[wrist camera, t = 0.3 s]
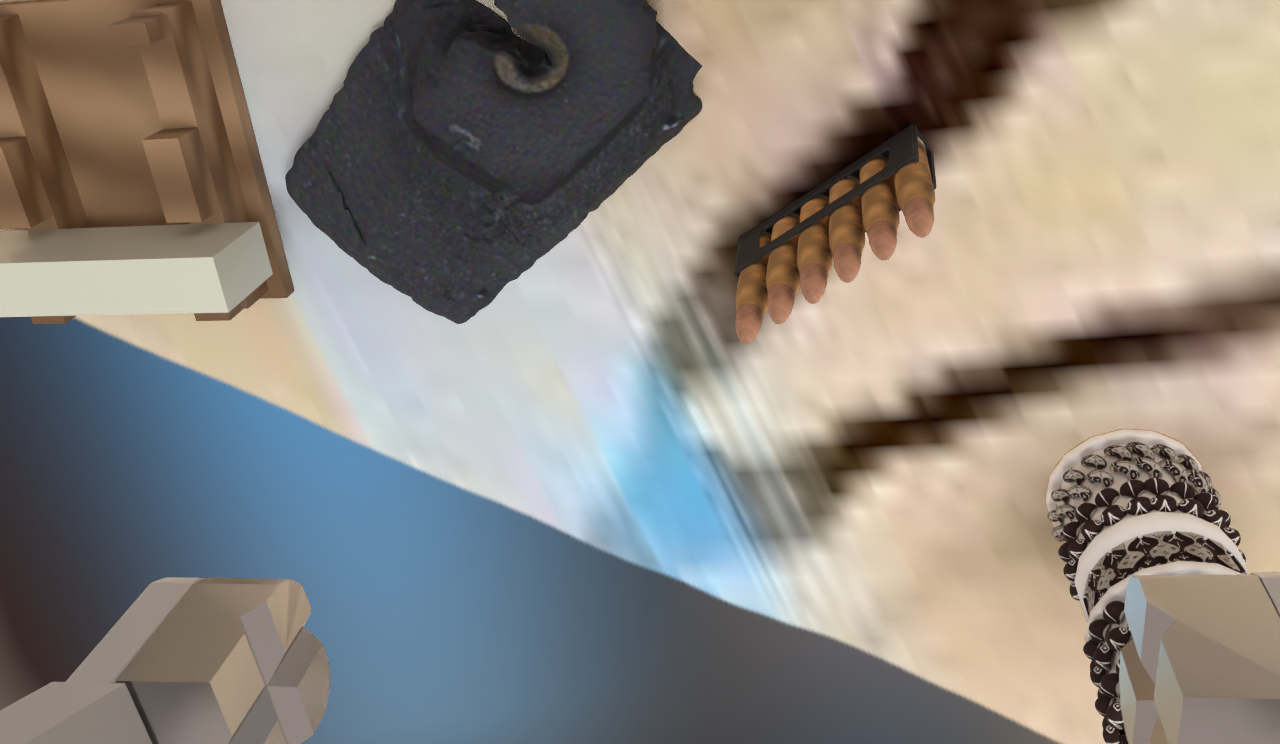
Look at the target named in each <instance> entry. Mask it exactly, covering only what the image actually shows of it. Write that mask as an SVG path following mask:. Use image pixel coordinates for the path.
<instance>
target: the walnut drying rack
mask: <svg viewBox="0 0 1280 744" xmlns="http://www.w3.org/2000/svg"><path fill="white" fill-rule="evenodd" d="M241 222H259V223H260V227H261V231H262V235H263V238H264V242H265V246H266V250H267V254H268V257H269V261H270V265H271V269H272V273H273V274H272V275H271V276H270V277H269V278H268V279H267V280H265V281H264V282H263V283H262V284H261V285H260V286H259V287H257V288H256V289H255V290H254V291H253V292H252V293H251V294H249V295H248V296H247V297H246V298H245V299H244V300H243V301H241V302H240V303H239V304H238V305H237V306H236V307H234V308H233V309H232V310H231V311H230V312H229V313H194V315H195V318H196V321H218V320H231V319H232V318H233V317H234V316H236V315H237V314H238V313H239V312H240V311H241V310H242V309H244V308H249V307H250V306H251V305H253V304H254V303H255V302H256V301H257V300H258V299H259V298H287V297H288V296H289V295H290V294H291V293H292V292H294V288H293V284H292V280H291V276H290V272H289V268H288V264H287V261H286V257H285V253H284V249H283V245H282V241H281V237H280V233H279V229H278V225H277V221H276V217H275V214H274V210H273V206H272V202H271V198H270V194H269V190H268V186H267V182H266V178H265V174H264V170H263V166H262V163H261V159H260V155H259V151H258V147H257V143H256V139H255V135H254V131H253V127H252V123H251V119H250V116H249V112H248V108H247V104H246V100H245V96H244V92H243V88H242V84H241V80H240V76H239V72H238V69H237V65H236V61H235V57H234V53H233V49H232V45H231V41H230V37H229V33H228V29H227V25H226V21H225V18H224V14H223V10H222V6H221V2H220V0H40V1H27V2H15V3H2V4H0V229H19V228H26V230H45V229H73V228H101V227H129V226H157V225H185V224H213V223H241ZM74 317H75V316H31V319H32V321H33V324H54V323H66V322H68V321H69V320H71V319H72V318H74Z"/></svg>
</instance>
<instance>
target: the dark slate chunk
mask: <svg viewBox="0 0 1280 744" xmlns="http://www.w3.org/2000/svg"><path fill="white" fill-rule="evenodd" d="M494 5H495V6H496V7H497V8H499V9H500V10H501V11H503V12H504V13H505V14H506V15H507V19H508V21H509V23H510V24H511V26H512V27H513V28H514V29H515V30H516V31H517V32H518V33H519V34H520V35H521V36H522V37H523V38H524V39H525V40H526V41H525V40H523V39H521V38H519V37H517V36H516V35H515V34H514V33H513V32H512V29H511V26H510V24H509V23H508V22H507V21H506V20H505V19H504V18H502V17H501V16H499V15H498V14H497V13H495V12H494V11H493V10H491V9H490V8H488V7H486V6H484V5H483V4H481V3H480V2H478V1H476V0H396V2H395V5H394V9H393V12H392V13H391V14H390V15H389V16H388V17H387V18H386V19H385V22H384V26H383V27H381V28H379V29H377V30H375V31H374V32H372V34H371V36H370V40H369V42H368V44H367V45H366V46H365V47H364V48H363V49H362V51H361V52H360V53H359V54H358V56H357V57H356V59H355V60H354V62H353V63H352V65H351V66H350V68H349V70H348V73H347V77H346V79H345V81H344V87H343V88H342V89H341V90H340V91H339V92H338V93H337V94H336V95H335V96H334V99H333V102H332V103H331V105H330V108H329V110H327V111H326V112H325V113H324V115H323V117H322V118H321V120H320V122H319V124H318V126H317V129H316V131H315V132H314V134H313V135H312V136H311V137H310V138H309V139H308V140H307V141H306V142H305V143H304V144H303V145H302V147H301V148H300V149H299V150H298V152H297V153H296V155H295V158H294V163H293V167H292V168H291V169H290V170H289V171H288V173H287V174H286V178H285V179H286V185H287V191H288V193H289V195H290V196H291V198H292V199H293V200H294V201H295V203H296V204H297V205H298V206H299V208H300V209H301V210H302V211H303V212H304V213H306V214H307V216H308V217H309V218H310V219H311V221H312V223H313V224H314V225H315V226H316V227H317V228H319V229H320V230H321V231H323V232H324V233H325V234H326V235H328V236H329V237H330V238H331V239H332V240H333V241H334V242H335V243H336V244H337V246H338V247H339V248H341V249H342V250H343V251H344V252H346V253H347V254H348V255H350V256H351V257H353V258H354V259H355V260H356V261H357V262H358V263H359V264H360V265H362V266H363V267H365V268H367V269H368V270H369V271H370V273H372V274H373V275H374V276H376V277H377V278H379V279H380V280H381V281H383V282H384V283H386V284H389V285H391V286H393V287H394V288H395V289H397V290H398V291H400V292H402V293H404V294H406V295H408V296H410V297H412V299H413V301H414V302H416V303H417V304H419V305H420V306H422V307H423V308H424V309H426V310H428V311H430V312H433V313H435V314H437V315H441V316H444V317H446V318H448V319H449V320H451V321H453V322H455V323H457V324H461V323H464V322H466V321H467V320H469V319H470V318H471V317H473V316H474V315H475V314H476V313H477V312H478V311H479V310H481V309H482V308H484V307H486V306H487V305H489V304H490V303H491V302H492V301H493V300H494V298H495V297H496V296H497V294H498V293H499V292H500V291H501V290H502V289H503V287H504V286H505V285H506V284H507V283H508V282H509V281H512V280H515V279H517V278H518V277H519V276H520V275H521V273H522V272H524V271H526V270H528V269H529V268H530V267H531V266H532V265H533V264H534V263H535V261H536V260H537V259H538V258H540V257H541V256H543V255H545V254H546V253H547V252H549V251H550V250H551V249H552V248H553V247H554V246H555V245H557V244H558V243H559V242H561V241H562V240H563V239H565V238H566V237H567V235H568V234H569V233H570V232H571V231H572V230H574V229H576V228H577V227H578V226H579V225H580V223H581V222H582V221H583V220H584V219H585V218H586V217H587V215H588V213H589V212H591V211H594V210H596V209H597V208H598V207H599V206H600V204H601V203H602V202H603V201H604V200H605V199H606V198H608V197H609V196H610V195H612V194H613V193H614V192H615V191H616V190H617V189H618V187H619V186H621V185H622V184H623V182H624V181H625V180H626V179H627V178H628V177H630V176H631V175H633V174H634V173H635V172H636V171H637V170H638V169H639V168H640V167H641V166H642V164H643V163H644V162H645V161H646V160H647V159H648V158H650V157H651V156H652V155H654V154H655V153H656V152H657V151H658V150H659V149H660V148H661V146H662V145H664V144H665V143H666V142H668V141H669V140H671V139H672V138H673V137H675V136H676V135H677V134H678V133H679V132H680V131H681V130H682V129H683V127H684V126H685V125H686V124H687V123H688V122H689V121H690V120H692V119H693V118H694V117H695V116H697V115H698V114H699V112H700V111H701V109H702V102H701V100H700V98H699V97H697V96H695V94H694V92H693V83H692V82H693V79H694V77H695V76H696V74H697V72H698V71H699V70H700V68H701V67H702V65H701V64H700V63H698V62H697V61H696V60H695V59H694V58H693V57H692V56H691V55H689V54H688V53H687V52H686V51H685V50H684V49H683V48H682V47H681V46H680V45H679V43H678V42H677V41H676V40H675V39H674V38H673V37H672V36H671V35H670V34H669V33H668V32H667V31H666V30H665V29H664V28H663V27H662V26H661V25H660V24H659V23H658V22H657V21H656V15H657V12H656V11H655V10H654V9H653V8H652V7H651V6H650V5H649V4H648V3H647V1H646V0H495V2H494ZM527 41H528V42H527Z"/></svg>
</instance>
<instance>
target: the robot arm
mask: <svg viewBox="0 0 1280 744" xmlns="http://www.w3.org/2000/svg"><path fill="white" fill-rule="evenodd" d="M310 613H311V607H310V605H309V602H308V600H307V597H306V595H305V592H304V589H303V587H302V585H300V584H298V583H296V582H294V581H292V580H290V579H257V578H205V579H203V578H163V579H160V580H158V581H155V582H153V583H151V584H150V585H149V586H148V587H147V588H146V589H145V591H144V592H143V593H142V594H141V595H140V596H139V597H138V599H137V600H136V601H135V602H134V603H133V604H132V606H131V607H130V608H129V609H128V611H126V613H125V614H124V615H123V616H122V617H121V618H120V619H119V621H118V622H117V623H116V624H115V625H114V626H113V628H112V629H111V630H110V631H109V632H108V633H107V635H106V636H105V637H104V638H103V639H102V641H101V642H100V643H99V644H98V645H97V646H96V647H95V648H94V650H93V651H92V652H91V653H90V654H89V655H88V657H87V658H86V659H85V660H84V661H83V662H82V664H81V665H80V666H79V667H78V668H77V669H76V671H75V672H74V673H73V674H72V675H71V676H70V678H69V679H68V680H67V681H66V682H51V683H50V684H48V685H46V686H44V687H42V688H41V689H39V690H37V691H35V692H33V693H32V694H30V695H28V696H26V697H24V698H22V699H21V700H19V701H17V702H15V703H13V704H12V705H10V706H8V707H6V708H4V709H3V710H1V711H0V744H300V743H301V742H303V741H304V740H306V739H307V738H309V737H310V736H312V735H313V734H314V732H315V731H316V728H317V726H318V725H319V723H320V721H321V719H322V717H323V715H324V713H325V710H326V705H327V700H328V695H329V689H330V671H329V662H328V658H327V655H326V652H325V649H324V646H323V643H322V642H321V641H319V640H318V639H317V638H316V637H315V636H314V635H313V634H311V633H310V632H309V631H308V630H307V629H306V628H305V627H304V625H305V623H306V621H307V618H308V617H309V615H310ZM1124 613H1125V616H1126V619H1127V622H1128V625H1129V628H1130V631H1131V634H1132V637H1133V638H1132V639H1131V640H1130V641H1129V642H1128V643H1127V644H1126V645H1125V646H1124V647H1123V648H1122V649H1121V652H1120V671H1119V686H1120V702H1121V712H1122V717H1123V722H1124V727H1125V732H1126V736H1127V739H1128V743H1129V744H1280V572H1254V573H1251V574H1250V575H1247V574H1235V575H1130V579H1129V582H1128V585H1127V588H1126V596H1125V606H1124Z"/></svg>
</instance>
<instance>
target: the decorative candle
mask: <svg viewBox="0 0 1280 744" xmlns="http://www.w3.org/2000/svg"><path fill="white" fill-rule="evenodd" d="M1045 501H1046V505H1047V508H1048V511H1049V513H1048V519H1049V520H1050V521H1052V523H1053V526H1054V527H1055V528H1054V529H1053V530H1052V535H1053V536H1054V538H1055V540H1056V541H1066V543H1064V544H1063V545H1062V546H1061V547H1060V548H1059V550H1058V554H1059V556H1060V557H1061V559H1062V560H1064V561H1065V562H1068V563H1067V564H1066V565H1065V567H1064V574H1065V576H1066V577H1067V578H1068V579H1069V580H1070V581H1073V582H1072V583H1071V585H1070V594H1071V596H1072V597H1073V598H1074V599H1076V600H1079V601H1080V602H1081V605H1082V608H1083V611H1084V614H1085V617H1086V621H1087V622H1088V626H1087V630H1086V635H1085V641H1086V644H1085V645H1084V648H1083V651H1084V653H1085V655H1086V656H1087V657H1088V658H1089V659H1091V660H1092V662H1091V664H1090V671H1091V672H1090V677H1091V680H1092V682H1093V683H1094V684H1095V685H1096V686H1097V687H1099V689H1098V699H1097V700H1096V702H1095V707H1096V709H1097V711H1098V712H1099V714H1101V715H1102V716H1104V719H1103V722H1102V725H1103V738H1104V740H1105V742H1106V743H1107V744H1129V743H1128V739H1127V736H1126V732H1125V727H1124V722H1123V717H1122V712H1121V702H1120V686H1119V671H1120V652H1121V649H1122V648H1123V647H1124V646H1125V645H1126V644H1127V643H1128V642H1129V641H1130V640H1131V639H1132V638H1133V637H1132V634H1131V631H1130V628H1129V625H1128V622H1127V619H1126V616H1125V613H1124V606H1125V596H1126V588H1127V585H1128V582H1129V579H1130V575H1235V574H1247V575H1248V572H1247V568H1246V564H1245V562H1246V558H1245V555H1244V553H1243V552H1242V551H1241V550H1239V549H1238V548H1237V547H1238V545H1239V544H1240V539H1241V538H1240V534H1239V532H1238V531H1237V530H1235V529H1233V528H1230V527H1229V525H1230V516H1229V514H1228V513H1227V512H1225V511H1223V510H1220V507H1221V498H1220V495H1219V493H1218V492H1217V491H1216V490H1215V489H1213V488H1212V482H1211V479H1210V477H1209V476H1208V475H1207V474H1206V473H1204V472H1202V468H1201V465H1200V463H1199V461H1198V460H1197V459H1196V458H1195V457H1194V456H1193V455H1192V454H1191V453H1190V452H1189V451H1188V450H1187V449H1186V447H1185V446H1184V445H1183V444H1182V443H1181V442H1178V441H1176V440H1174V439H1171V438H1169V437H1167V436H1164V435H1162V434H1160V433H1157V432H1155V431H1145V430H1128V429H1121V430H1117V431H1113V432H1109V433H1105V434H1101V435H1098V436H1094V437H1090V438H1089V439H1087V440H1086V441H1084V442H1083V443H1081V444H1080V445H1078V446H1077V447H1075V448H1074V449H1072V450H1071V451H1069V452H1067V453H1066V454H1065V455H1064V456H1063V458H1062V459H1061V461H1060V462H1059V463H1058V465H1057V466H1056V468H1055V469H1054V470H1053V472H1052V473H1051V475H1050V476H1049V482H1048V487H1047V493H1046V498H1045Z"/></svg>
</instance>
